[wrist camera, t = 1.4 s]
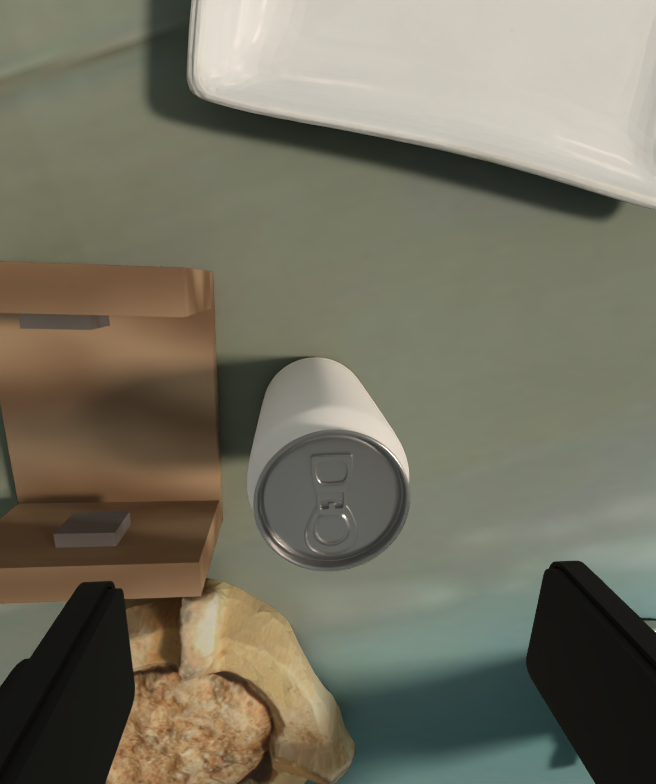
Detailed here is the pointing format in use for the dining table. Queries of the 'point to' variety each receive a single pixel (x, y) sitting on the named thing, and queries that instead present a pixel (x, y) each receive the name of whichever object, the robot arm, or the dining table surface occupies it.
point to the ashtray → (225, 697)
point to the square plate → (451, 78)
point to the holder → (109, 429)
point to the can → (326, 469)
